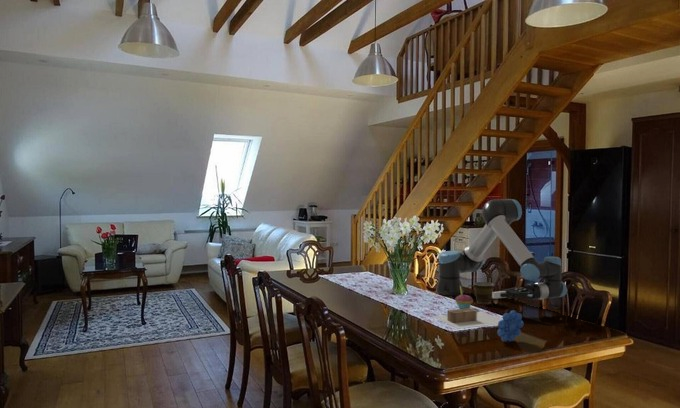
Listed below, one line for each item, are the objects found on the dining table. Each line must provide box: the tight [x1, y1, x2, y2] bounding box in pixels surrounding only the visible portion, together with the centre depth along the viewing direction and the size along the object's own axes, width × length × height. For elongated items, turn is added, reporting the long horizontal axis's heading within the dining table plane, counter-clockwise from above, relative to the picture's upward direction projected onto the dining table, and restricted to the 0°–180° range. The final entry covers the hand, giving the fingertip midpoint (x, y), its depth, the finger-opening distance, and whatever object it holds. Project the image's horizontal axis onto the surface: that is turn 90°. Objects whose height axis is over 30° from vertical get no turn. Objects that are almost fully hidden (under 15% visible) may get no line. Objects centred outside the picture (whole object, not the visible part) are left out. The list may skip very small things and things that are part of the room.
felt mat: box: [434, 311, 503, 330], centre depth 215 cm, size 20×26×1 cm
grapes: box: [496, 310, 525, 342], centre depth 186 cm, size 12×7×12 cm, turn 109°
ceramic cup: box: [467, 281, 495, 306], centre depth 248 cm, size 13×10×10 cm
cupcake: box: [454, 286, 474, 309], centre depth 235 cm, size 9×8×12 cm
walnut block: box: [446, 307, 478, 323], centre depth 213 cm, size 5×4×12 cm
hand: (493, 295), depth 218 cm, fingers closed
